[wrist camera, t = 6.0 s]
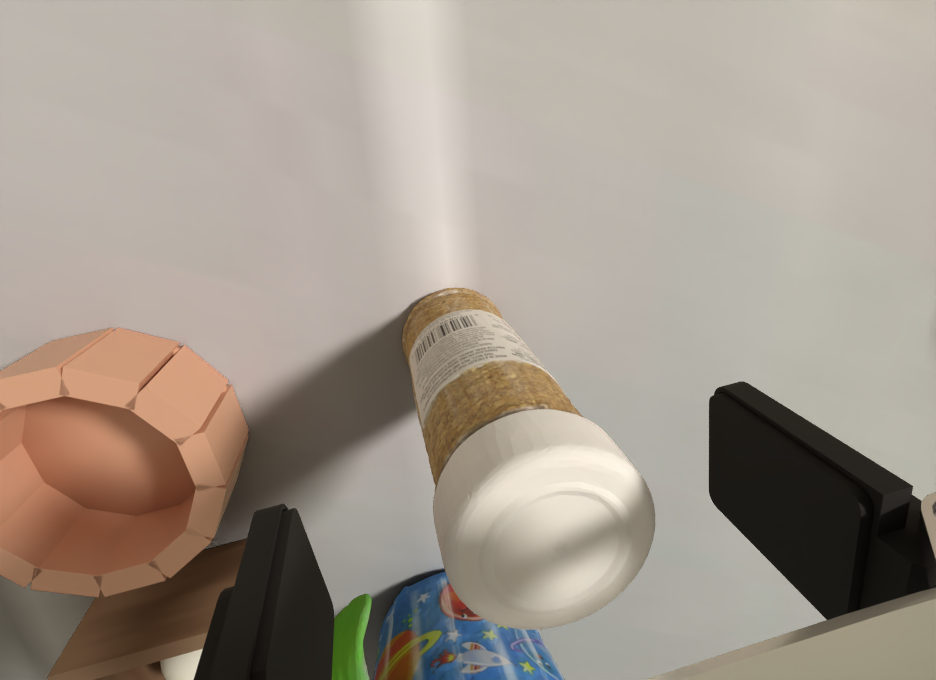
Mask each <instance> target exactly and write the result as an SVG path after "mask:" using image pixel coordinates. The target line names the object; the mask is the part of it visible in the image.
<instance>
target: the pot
mask: <svg viewBox="0 0 936 680" xmlns="http://www.w3.org/2000/svg"><path fill="white" fill-rule="evenodd" d="M179 343H180V342H176V341H172V340H168V339H164V338H159V337H155V336H151V335H147V334H143V333H139V332H135V331H130V330H126V329H122V328H117V329H116V330H113V328H108V329H103V330H99V331H94V332H89V333H85V334H80V335H76V336H71V337H66V338H62V339H57V340H53V341H51V342H49V343H47V344H45V345H43V346H42V347H40V348H38V349H37V350H35V351H34V352H32V353H30V354H29V355H27V356H25V357H24V358H22V359H20V360H19V361H17V362H15V363H14V364H12V365H10V366H9V367H7V368H5V369H4V370H2V371H0V575H2V576H3V577H5V578H7V579H9V580H11V581H13V582H15V583H16V584H18V585H20V586H22V587H24V588H25V587H26V586H27V585H28V584H29V583H30V582H31V581H32V583H31V590H38V591H47V592H56V593H64V594H73V595H82V596H91V597H99V596H100V594H101V593H103V595H104V597H107V596H110V595H114V594H118V593H122V592H125V591H129V590H133V589H137V588H140V587H144V586H148V585H151V584H155V583H159V582H163V581H166V578H167V577H169V578H171V577H172V576H173V575H175V574H176V573H177V572H178V571H179V570H180V569H181V568H183V567H184V566H185V565H186V564H187V563H188V562H189V561H191V560H192V559H193V558H194V557H195V556H196V555H197V554H198V553H200V552H201V551H202V550H203V549H204V548H205V547H206V546H208V545H209V544H210V543H211V542H212V539H213V538H214V537H215V534H216V532H217V529H218V527H219V524H220V522H221V519H222V517H223V514H224V512H225V509H226V506H227V504H228V501H229V499H230V496H231V494H232V491H233V489H234V486H235V484H236V481H237V479H238V476H239V472H240V468H241V464H242V460H243V456H244V453H245V449H246V445H247V441H248V437H249V434H248V431H249V428H248V426H247V423H246V420H245V418H244V415H243V413H242V410H241V407H240V405H239V402H238V400H237V397H236V394H235V392H234V389H233V386H232V385H228V384H227V383H228V381H229V380H227V379H226V378H225V377H224V376H222V375H221V374H220V373H219V372H218V371H216V370H215V369H214V368H213V367H211V366H210V365H209V364H208V363H206V362H205V361H204V360H203V359H201V358H200V357H199V356H198V355H197V354H195V353H194V352H193V351H192V350H190V349H189V348H188V347H187V346H185V345H184V346H183V347H181V346H179Z"/></svg>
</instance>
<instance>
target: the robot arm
mask: <svg viewBox="0 0 936 680" xmlns="http://www.w3.org/2000/svg"><path fill="white" fill-rule="evenodd" d="M912 489H913V486H912V485H910V484H909V483H907V482H906V481H904V480H902V479H901V478H899V477H897V476H896V475H894V474H893V473H891V472H889V471H888V470H886V469H885V468H883V467H881V466H880V465H878V464H877V463H875V462H873V461H872V460H870V459H869V458H867V457H865V456H864V455H862V454H860V453H859V452H857V451H856V450H854V449H852V448H851V447H849V446H848V445H846V444H844V443H843V442H841V441H840V440H838V439H836V438H835V437H833V436H832V435H830V434H828V433H827V432H825V431H823V430H822V429H820V428H819V427H817V426H815V425H814V424H812V423H811V422H809V421H807V420H806V419H804V418H803V417H801V416H799V415H798V414H796V413H795V412H793V411H791V410H790V409H788V408H787V407H785V406H783V405H782V404H780V403H778V402H777V401H775V400H774V399H772V398H770V397H769V396H767V395H766V394H764V393H762V392H761V391H759V390H758V389H756V388H754V387H753V386H751V385H750V384H748V383H746V382H737V383H733V384H730V385H726V386H722V387H719V388H717V389H716V391H715V393H714V396H712V397H711V398H710V401H709V494H710V497H711V499H712V501H713V503H714V505H715V506H716V507H717V508H718V509H719V510H720V511H721V512H722V513H723V514H724V515H725V516H726V517H727V518H728V519H729V520H730V521H731V522H732V523H733V525H734V526H735V527H736V528H737V529H738V530H739V531H740V532H741V533H742V534H743V535H744V536H745V537H746V538H747V539H748V540H749V541H750V542H751V543H752V544H753V545H754V546H755V547H756V548H757V549H758V550H759V551H760V552H761V553H762V554H763V555H764V556H765V557H766V558H767V559H768V560H769V561H770V562H771V563H772V564H773V565H774V566H775V567H776V568H777V569H778V570H779V571H780V572H781V573H782V574H783V575H784V576H785V577H786V579H787V580H788V581H789V582H790V583H791V584H792V585H793V586H794V587H795V588H796V589H797V590H798V591H799V592H800V593H801V594H802V595H803V596H804V597H805V598H806V599H807V600H808V601H809V602H810V603H811V604H812V605H813V606H814V607H815V608H816V609H817V610H818V611H819V612H820V613H821V614H822V615H823V616H824V617H825V618H826V619H827V620H826V621H823V622H820V623H817V624H814V625H811V626H808V627H805V628H802V629H799V630H796V631H793V632H790V633H786V634H783V635H780V636H777V637H774V638H771V639H768V640H765V641H762V642H759V643H756V644H753V645H750V646H747V647H744V648H740V649H737V650H734V651H731V652H728V653H725V654H722V655H719V656H716V657H713V658H710V659H707V660H704V661H701V662H698V663H695V664H692V665H689V666H686V667H683V668H680V669H677V670H674V671H671V672H668V673H665V674H662V675H659V676H656V677H653V678H650V679H647V680H936V492H934V493H932V494H929V495H927V496H926V497H925V498H924V499H923V500H922V501H921V500H919V499H918V498H916V497H915V496H913V495H911V494H912ZM333 639H334V609H333V604H332V601H331V598H330V595H329V593H328V590H327V587H326V585H325V582H324V579H323V577H322V574H321V571H320V569H319V566H318V563H317V561H316V558H315V555H314V553H313V550H312V548H311V545H310V542H309V540H308V537H307V534H306V532H305V529H304V526H303V524H302V521H301V518H300V516H299V513H298V511H297V510H296V509H295V508H293V509H289V510H288V508H287V507H286V505H285V504H281V505H277V506H273V507H269V508H266V509H262V510H258V511H256V512H255V513H254V515H253V519H252V522H251V526H250V530H249V533H248V537H247V541H246V544H245V548H244V552H243V555H242V559H241V563H240V566H239V570H238V574H237V577H236V581H235V585H234V586H232V587H229V588H225V589H224V590H223V591H222V592H221V593H220V595H219V598H218V600H217V603H216V607H215V610H214V613H213V617H212V620H211V623H210V627H209V630H208V633H207V637H206V640H205V643H204V647H203V650H202V653H201V657H200V660H199V663H198V667H197V670H196V673H195V677H194V680H332V662H333Z"/></svg>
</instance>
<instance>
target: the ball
mask: <svg viewBox="0 0 936 680" xmlns="http://www.w3.org/2000/svg"><path fill="white" fill-rule="evenodd" d="M202 650H203V649H200V650H197V651H193V652H190V653H186V654H183V655H179V656H176V657H172V658H168V659H165V660H161V661H160V665H161V670H162V673H163V676H164V678H165V679H166V680H194V677H195V673H196V670H197V667H198V663H199V660H200V657H201V653H202Z"/></svg>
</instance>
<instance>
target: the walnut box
mask: <svg viewBox="0 0 936 680" xmlns="http://www.w3.org/2000/svg"><path fill="white" fill-rule="evenodd" d="M246 541H247V539H244V540H240V541H236V542H233V543H229V544H225V545H221V546H217V547H214V548H210V549H206V550H202V551H201V552H200V553H198V554H197V555H196V556H195V557H194V558H193V559H192V560H191V561H189V562H188V563H187V564H186V565H185V566H184V567H183V568H181V569H180V570H179V571H178V572H177V573H176V574H175V575H173V576H172V577H171V578H169V577H167V578H166V581H163V582H159V583H155V584H151V585H148V586H144V587H140V588H137V589H133V590H129V591H125V592H122V593H118V594H114V595H110V596H107V597H104V595H103V593H101V594H100V596H99V597H96V598H95V599H94V601H93V603H92V604H91V606H90V607H89V609H88V611H87V612H86V614H85V616H84V617H83V619H82V621H81V622H80V624H79V626H78V627H77V629H76V631H75V632H74V634H73V635H72V637H71V639H70V640H69V642H68V644H67V645H66V647H65V649H64V650H63V652H62V654H61V655H60V657H59V658H58V660H57V662H56V663H55V665H54V667H53V668H52V670H51V672H50V673H49V675H48V677H47V678H48V680H166V679H165V678H164V676H163V673H162V670H161V665H160V661H161V660H165V659H168V658H172V657H176V656H179V655H183V654H186V653H190V652H193V651H197V650H200V649H203V647H204V643H205V640H206V637H207V633H208V630H209V627H210V623H211V620H212V617H213V613H214V610H215V607H216V603H217V600H218V598H219V595H220V593H221V592H222V591H223V590H224V589H225V588H229V587H232V586H234V585H235V581H236V577H237V574H238V570H239V566H240V563H241V559H242V555H243V552H244V548H245V544H246Z"/></svg>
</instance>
